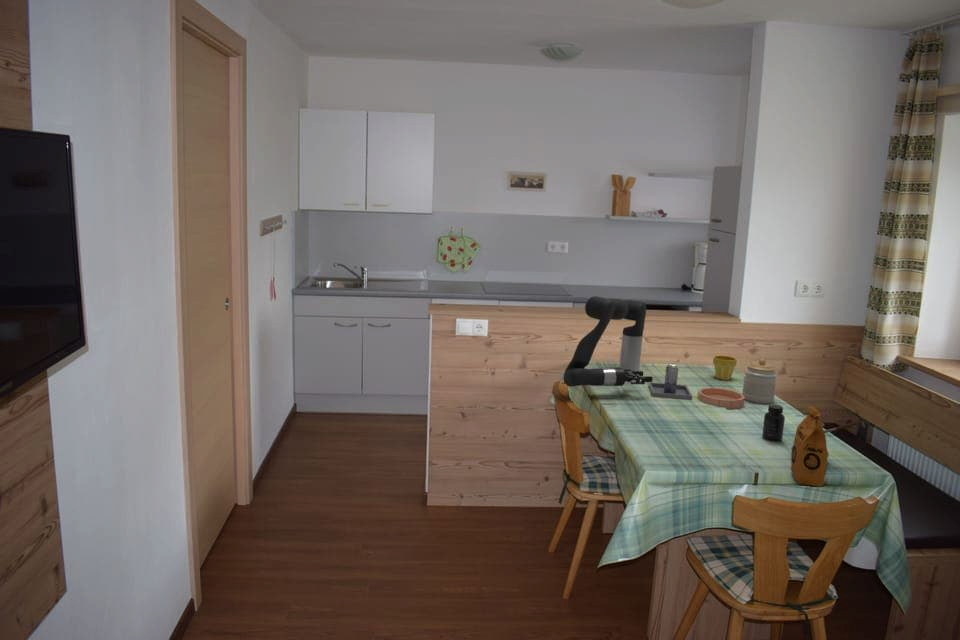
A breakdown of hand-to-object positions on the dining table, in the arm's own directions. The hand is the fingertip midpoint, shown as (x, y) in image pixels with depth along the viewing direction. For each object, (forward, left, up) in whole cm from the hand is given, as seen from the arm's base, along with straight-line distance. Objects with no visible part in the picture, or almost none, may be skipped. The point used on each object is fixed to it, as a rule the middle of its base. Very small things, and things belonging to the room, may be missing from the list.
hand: (647, 376), depth 316 cm
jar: (+47, +8, -8) cm, 49 cm away
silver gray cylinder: (+10, +4, -7) cm, 13 cm away
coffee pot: (+52, -62, -8) cm, 82 cm away
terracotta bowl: (+30, -1, -8) cm, 31 cm away
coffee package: (+41, -80, -8) cm, 90 cm away
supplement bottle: (+40, -43, -8) cm, 59 cm away
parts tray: (+10, +4, -8) cm, 14 cm away
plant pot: (+39, +40, -8) cm, 57 cm away
